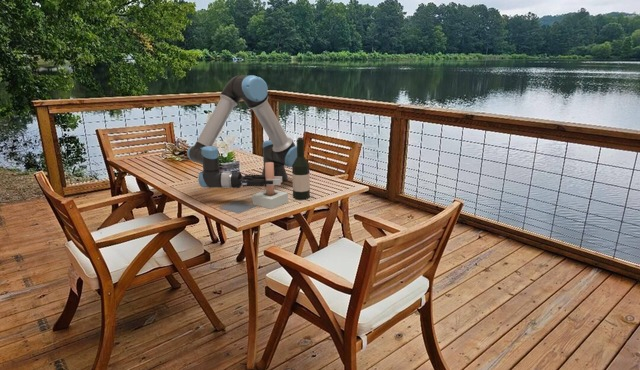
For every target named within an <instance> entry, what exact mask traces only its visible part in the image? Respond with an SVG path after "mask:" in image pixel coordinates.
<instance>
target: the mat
mask: <svg viewBox="0 0 640 370" xmlns="http://www.w3.org/2000/svg"><path fill="white" fill-rule="evenodd" d="M219 207H220V206H219ZM257 207H258V205H254V204H250V203H245V202H242V201H239V200H235V201H231V202H229V203H226V204H224V205H221V207H220V208H219V209H220V210H224V211H228V212H232V213H234V214H238V215H239V214H241V213H244V212H246V211H250V210H252V209H254V208H257Z"/></svg>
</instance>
